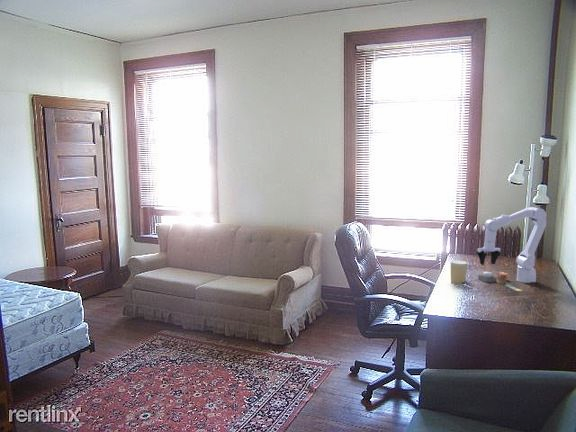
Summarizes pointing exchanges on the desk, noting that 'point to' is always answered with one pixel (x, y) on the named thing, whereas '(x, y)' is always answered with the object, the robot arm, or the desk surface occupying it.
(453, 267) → the coffee cup
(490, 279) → the board
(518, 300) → the desk surface
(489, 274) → the dome
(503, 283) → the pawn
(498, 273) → the die
